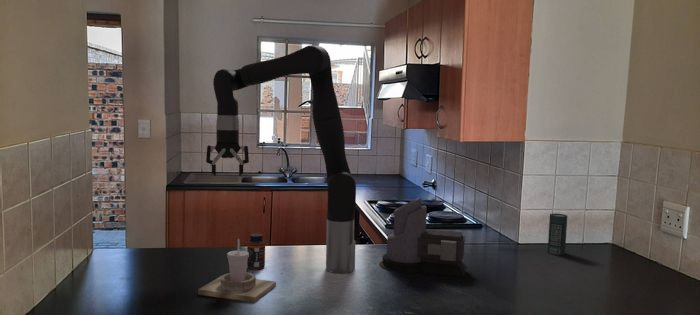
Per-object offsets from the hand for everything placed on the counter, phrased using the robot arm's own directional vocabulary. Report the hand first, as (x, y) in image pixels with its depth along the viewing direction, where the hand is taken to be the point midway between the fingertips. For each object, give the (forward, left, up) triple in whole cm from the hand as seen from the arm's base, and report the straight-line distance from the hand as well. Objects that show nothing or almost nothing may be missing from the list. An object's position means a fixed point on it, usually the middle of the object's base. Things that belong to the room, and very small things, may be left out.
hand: (227, 175), depth 184 cm
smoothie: (-18, +26, -29) cm, 43 cm away
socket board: (-18, +26, -30) cm, 44 cm away
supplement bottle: (-13, +4, -30) cm, 33 cm away
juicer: (-66, -17, -30) cm, 75 cm away
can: (-113, -54, -30) cm, 129 cm away
